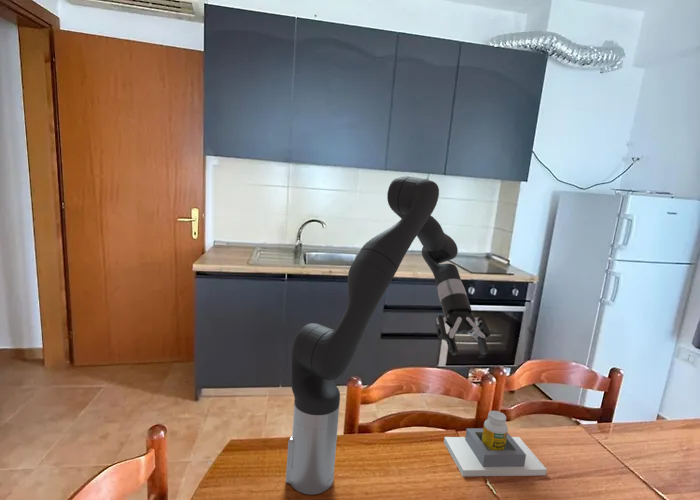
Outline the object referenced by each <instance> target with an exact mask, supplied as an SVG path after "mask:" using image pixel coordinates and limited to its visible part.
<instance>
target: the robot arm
mask: <svg viewBox="0 0 700 500" xmlns="http://www.w3.org/2000/svg"><path fill="white" fill-rule="evenodd" d="M438 185H439V184H438V183H436V182H434V181H433V180H429V179H426V178H421V177H420V178H419V177H414V176H408V175H399V176H397V177H395V178H394V179H393V180H392V181H391V182H390V184H389V186H388V189H387V197H386V198H387V203H388V206H389V208H390V209H391V211H393V213H395V214H396V216H398V217H399V219H400V220H399V221H398V222H397V223H395V224H393V225H392V226H391V227H389V228H387V229H386V230H384V231H382V232H380V233H379V234H377V235H375V236H374V237H372V238H371V239H369V240H368V241H367V242H365V244H363V245H362V247H361V248H360V250H359V251H358V253H357V255H356V257H355V258H354V260H353V262H352V264H351V265H350V267H349V269H348V275H347V303H346V304H347V305H346V309H345V312H344V313H343V315H342V318H341V320H340V321H339V322H338V325H337V326H336V328H335V329H333V328H331V327H328V326H324V325H322V324H320V323H316V322H313V323H312V322H311V323H307V324H305V325H304V326H303V327H301V329H300V330H299V331H298V332H297V334H296V335H295V338H294V340H293V345H292V350H291V390H292V393H293V396H294V400H293V401H294V403H293V404H294V405H293V419H292V421H293V422H292V435H291V436H290V437H289V439H288V442H287V454H286V455H287V457H286V471H285V472H286V473H285V483H287V484H290V485H291V487H292V488H293V489H294V490H296V492H298V493H301V494H305V495H318V494H321V493H325V492H326V491H327V490H329V489H330V488H331V487H332V485H333V483H334V477H335V476H334V475H335V466H336V465H335V462H336V451H337V440H338V439H337V438H338V427H339V414H340V402H341V393H340V390H339V388H338V386H337V385H336V384H335V382H334V381H335V380H337V379H338V378H341V376H342V375H344V373H345V372H346V370H347V369H348V367H349V366H350V364H351V362H352V360H353V359H354V356H355V353H356V351H357V349H358V348H359V345H360V342H361V341H362V338H363V335H364V333H365V331H366V329H367V326H368V324H369V322H370V320H371V318H372V316H373V314H374V312H375V310H376V308H377V307H378V304H379V302H380V301H381V299H382V297H383V295H384V294H385V292H386V290H387V289H388V287H389V286H390V284H391V282H392V281H393V278H394V277H395V275H396V273H397V272H398V269H399V267H400V265H401V264H402V262H403V259H404V258H405V256H406V254H407V252H408V250H409V249H410V247H411V245H412V243H413V242H414V240H415V239H416V237H417V239H418V240H419V242H420V244H421V246H422V248H421V256H422V259H423V261H425V263H426V264H427V266H428V267H429V268H430V271H431V272H432V274H433V277H434V280H435V284H436V287H437V294H438V298H439V303H440V305H441V309H442V313H443V315H441V314H440V315H438V316H437V317H436V318H435V322H434V323H435V327H436V332H437V337H438V340H440V341H442V340H443V341H445V342H446V344H447V345H446V346H447V348H448V351H449V353H450V354H451V355H452V356H456V355H457V354H458V353H459V350H458V347H457V346H458V345H457V342H456V340H455V338H454V337H455V335H458V334H459V335H460V334H465V335H467V334H468V335H469V336H470V337H473V339H475V341H477V342H476V343H477V346H478V349H479V352H480V353H479V354H480V356H481V355H482V356H485V355H487V354H488V351H489V348H488V347H489V346H488V344H487V341H486V340H487V338H489V337H490V336H491V332H490V329H489V327H488V324H487V322H486V320H485V317H484V316H483V315H480V316H478V317H475V316H474V315H473V313H472V306H471V303H470V301H469V297H468V294H467V292H466V289H465V286H464V284H463V282H462V278H461V275H460V273H459V269H458V267H457V266H456V265H455V264H453V263H445V262H449V261H451V260H453V259H455V258H456V257H457V255H458V253H459V251H458V249H459V248H458V245H457V243H456V242H455V240H454V239H453V238H452V237H451V236H450V235H448V234H447V233H445V232H444V230H443V228H442V226H441V224H440V223H439V221H438V220H437V219H436V218H435V217H433V216H432V214H433V212H434V210H435V209H436V206H437V204H438V201H439V197H440V189H439V186H438ZM443 316H444V317H443ZM445 324H446V325H447V326H448V327H449V328H448V329H449V330H448V331H447V330H446V325H445Z"/></svg>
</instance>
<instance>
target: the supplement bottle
mask: <svg viewBox="0 0 700 500" xmlns="http://www.w3.org/2000/svg"><path fill="white" fill-rule="evenodd" d="M506 423H507V415H505V413H503V412H501V411H498V410H490V411H489V412H488V415H487V419H486V420H485V421H484V423H483V427H482V428H483V436H482V443H483V444H484V446H485V447H486V449H487V450H488V451H503V450H505V445H506V439H507V432H509V430H508V429H509V428H508V425H507V424H506Z"/></svg>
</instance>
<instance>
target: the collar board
mask: <svg viewBox="0 0 700 500" xmlns="http://www.w3.org/2000/svg"><path fill="white" fill-rule="evenodd" d="M483 428H484V427H481V428H479V427H478V428H473V427H472V428H465V436H444V438H443V439H444V440H443V444H444V445H445V447H446V449H447V450H448V451H447V452H448V453H449V455H450V456H451V458H452V460H453V462H454V463H455V465H456V467H457V470H459V472H460V474H461V476H462V477H510V476H511V477H514V476H515V477H517V476H518V477H519V476H521V477H522V476H523V477H524V476H525V477H526V476H529V477H530V476H531V477H532V476H534V477H535V476H547V472H548V469H547V468H546V466H544V464H543V463H542V462H541V461H540V459H538V457H537V456H536V455H535V453H533V451H532V450H531V449H530V448H529V447H528V445H527V444H526V443H525V442H524V441H523V440H522V439H521V437H520V436H511V435H510V433H508V432H509V431H508V432H507V439H506V445H505V450H503V451H488V450H487V449H486V447H485V446H484V444H483V443H482V436H483Z"/></svg>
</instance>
